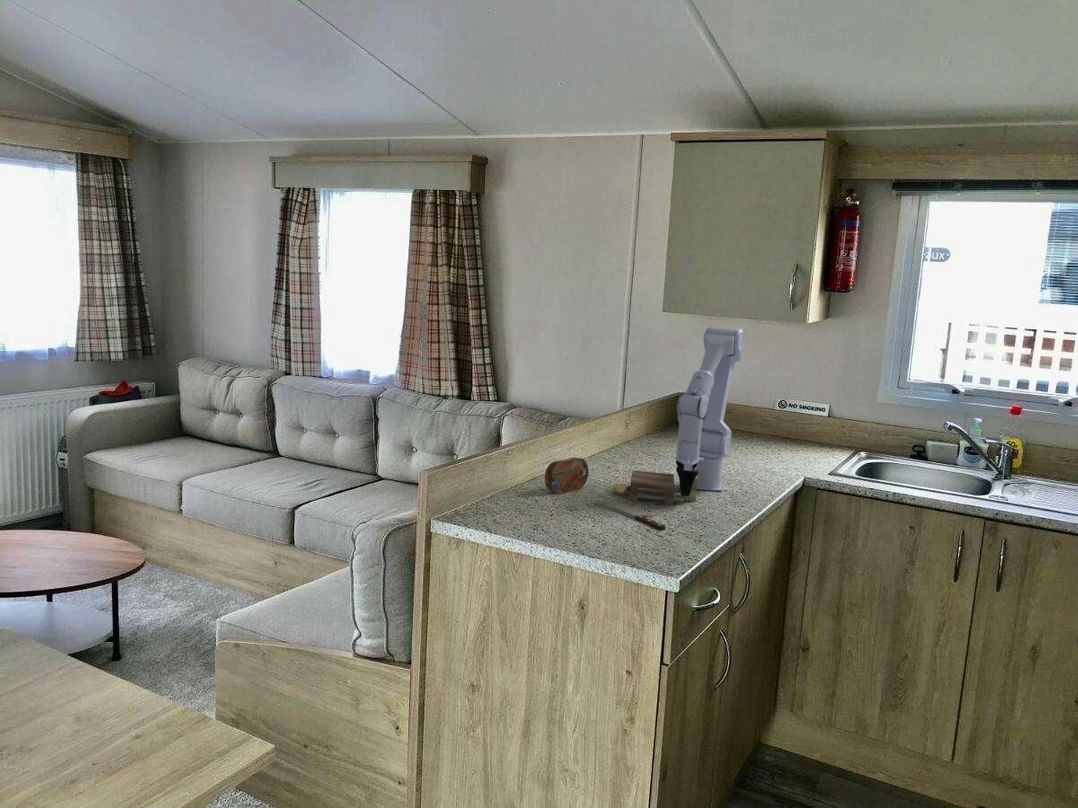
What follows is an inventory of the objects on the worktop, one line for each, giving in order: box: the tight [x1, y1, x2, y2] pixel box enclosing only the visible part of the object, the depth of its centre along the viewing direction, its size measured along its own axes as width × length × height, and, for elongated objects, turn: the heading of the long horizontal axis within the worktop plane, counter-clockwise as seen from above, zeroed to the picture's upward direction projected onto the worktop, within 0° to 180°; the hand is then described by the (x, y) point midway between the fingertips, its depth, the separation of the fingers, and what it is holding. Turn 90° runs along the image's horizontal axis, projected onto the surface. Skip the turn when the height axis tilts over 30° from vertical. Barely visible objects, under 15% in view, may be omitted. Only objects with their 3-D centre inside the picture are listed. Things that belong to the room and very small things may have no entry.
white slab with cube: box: [637, 476, 698, 503], centre depth 233 cm, size 6×16×6 cm, turn 82°
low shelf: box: [628, 470, 675, 506], centre depth 233 cm, size 14×11×5 cm
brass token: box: [612, 483, 630, 497], centre depth 235 cm, size 5×5×2 cm
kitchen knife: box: [596, 500, 666, 531], centre depth 215 cm, size 24×1×10 cm
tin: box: [544, 457, 589, 495], centre depth 234 cm, size 15×3×8 cm, turn 137°
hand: (684, 491), depth 232 cm, fingers open, 7 cm apart
